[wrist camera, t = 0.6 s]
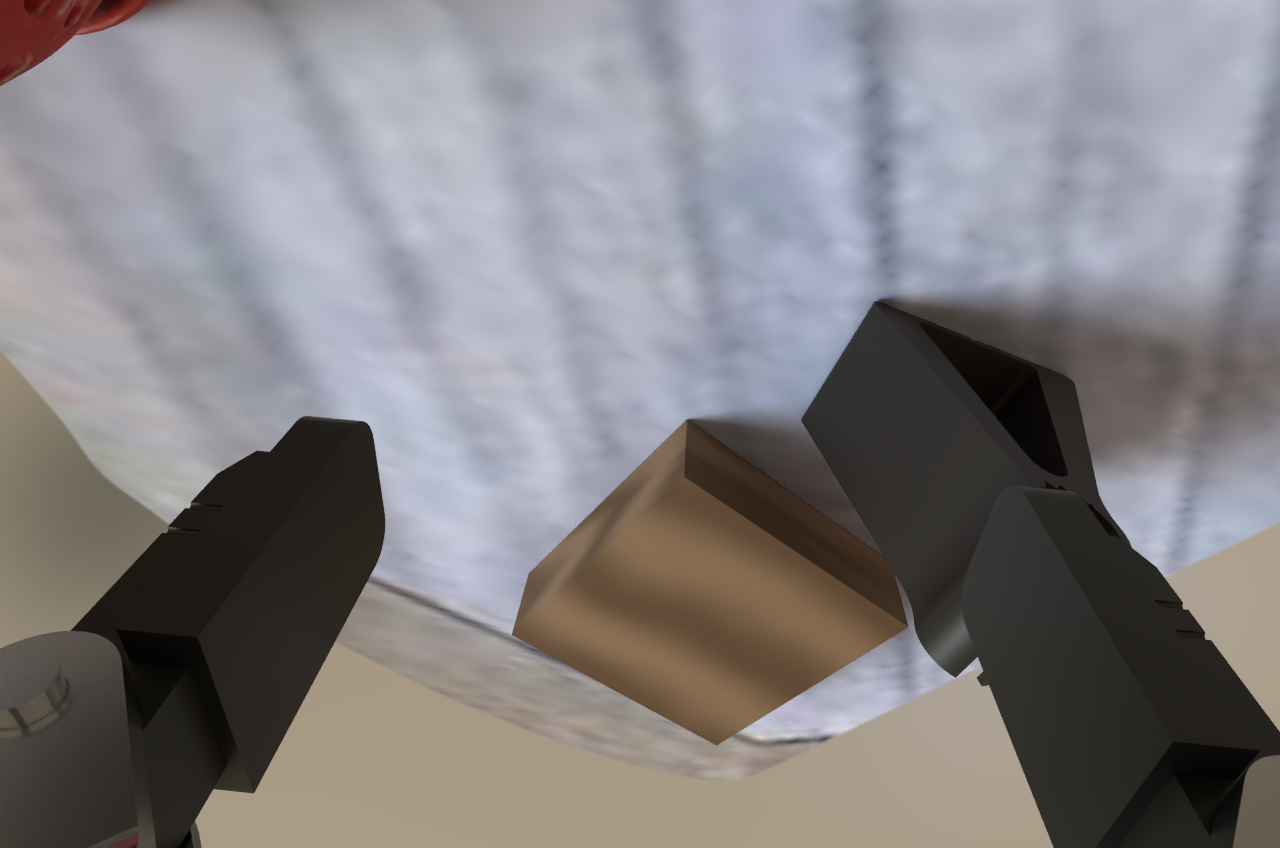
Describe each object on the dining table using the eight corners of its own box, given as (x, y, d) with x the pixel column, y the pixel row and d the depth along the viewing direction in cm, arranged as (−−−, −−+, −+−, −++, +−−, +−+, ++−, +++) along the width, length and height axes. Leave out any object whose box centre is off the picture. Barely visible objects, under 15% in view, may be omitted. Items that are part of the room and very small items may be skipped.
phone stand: (1071, 377, 30) (1243, 607, 20) (980, 483, 33) (1090, 722, 24) (873, 297, 29) (955, 500, 19) (799, 414, 32) (837, 639, 22)
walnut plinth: (687, 419, 33) (684, 476, 29) (890, 562, 37) (908, 626, 33) (528, 573, 39) (511, 634, 36) (716, 681, 43) (716, 745, 40)
